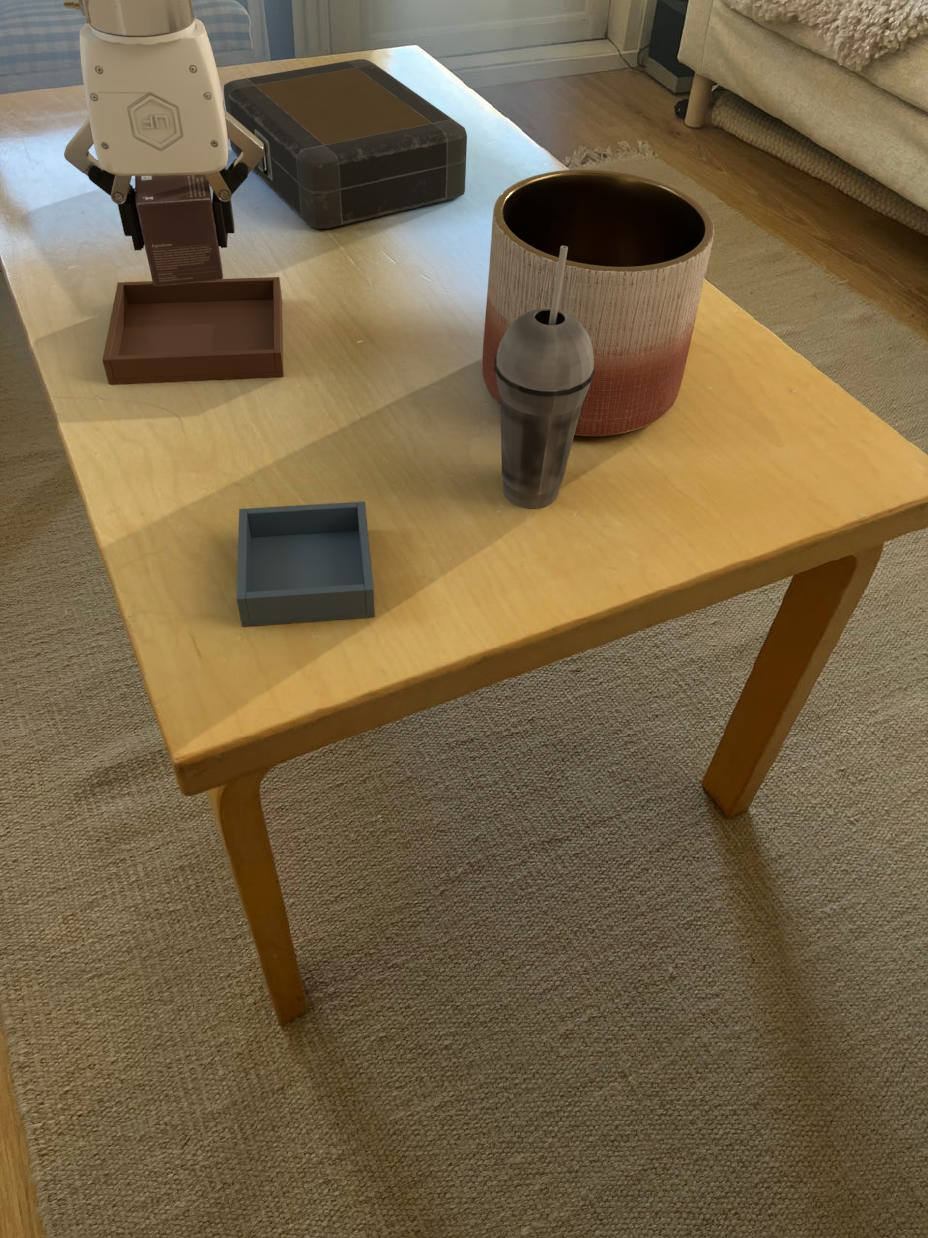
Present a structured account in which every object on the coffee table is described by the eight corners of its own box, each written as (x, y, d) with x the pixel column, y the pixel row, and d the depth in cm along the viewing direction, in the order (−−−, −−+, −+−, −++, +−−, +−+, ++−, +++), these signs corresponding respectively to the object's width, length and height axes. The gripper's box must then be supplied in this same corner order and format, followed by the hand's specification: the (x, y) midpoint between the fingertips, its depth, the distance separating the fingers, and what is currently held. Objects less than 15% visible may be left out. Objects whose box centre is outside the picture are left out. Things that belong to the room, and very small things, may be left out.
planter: (697, 358, 93) (737, 192, 82) (649, 467, 82) (688, 293, 70) (520, 315, 97) (534, 151, 86) (450, 413, 86) (456, 239, 74)
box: (224, 282, 86) (211, 198, 80) (152, 288, 85) (134, 204, 79) (219, 249, 90) (207, 166, 84) (151, 254, 88) (133, 171, 83)
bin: (241, 626, 69) (236, 599, 66) (243, 536, 75) (238, 508, 73) (375, 617, 70) (373, 589, 68) (366, 528, 76) (364, 501, 74)
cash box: (221, 148, 121) (212, 80, 115) (370, 119, 128) (367, 54, 122) (309, 236, 107) (303, 164, 101) (470, 198, 114) (473, 128, 108)
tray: (108, 384, 87) (102, 359, 85) (123, 305, 96) (117, 281, 94) (283, 376, 89) (280, 352, 87) (282, 300, 98) (279, 276, 96)
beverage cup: (469, 500, 78) (482, 263, 64) (509, 450, 83) (530, 218, 68) (553, 531, 76) (586, 293, 61) (589, 479, 81) (629, 245, 66)
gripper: (6, 23, 69) (72, 266, 82) (260, 22, 71) (284, 260, 84) (24, -11, 74) (83, 223, 87) (260, -11, 76) (283, 218, 89)
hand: (181, 239), depth 85 cm, fingers closed on box, 6 cm apart
